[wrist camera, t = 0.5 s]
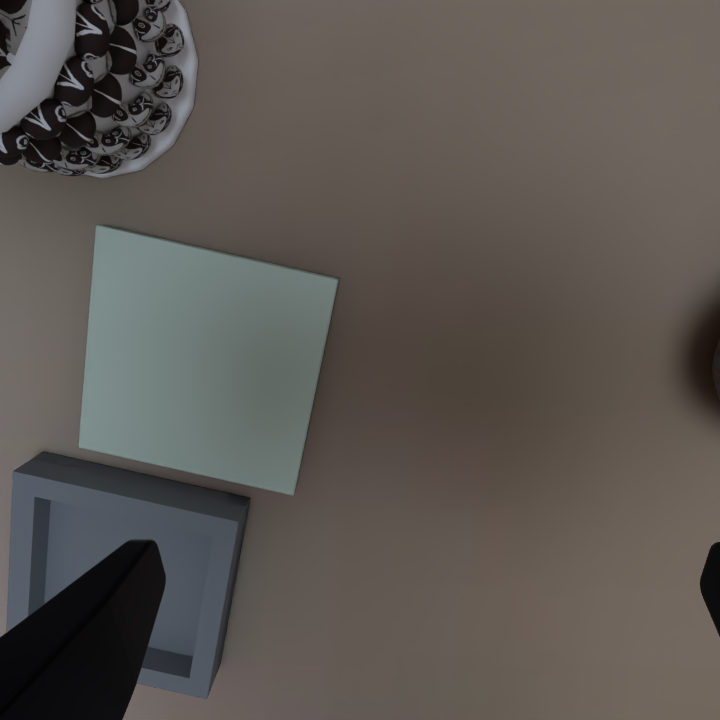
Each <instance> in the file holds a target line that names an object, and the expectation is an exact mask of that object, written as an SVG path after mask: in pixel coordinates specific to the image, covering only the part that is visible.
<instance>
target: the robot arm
mask: <svg viewBox="0 0 720 720" xmlns="http://www.w3.org/2000/svg"><path fill="white" fill-rule="evenodd" d="M165 585H166V574H165V570H164V566H163V563H162V559H161V555H160V552H159V548H158V545H157V543H156V542H155V541H154V540H152V539H131V540H128V541H127V542H125V543H124V544H122V545H121V546H120V547H119V548H117V549H116V550H115V551H113V552H112V553H111V554H109V555H108V556H107V557H105V558H104V559H103V560H101V561H100V562H99V563H97V564H96V565H95V566H94V567H92V568H91V569H90V570H88V571H87V572H86V573H84V574H83V575H82V576H80V577H79V578H78V579H76V580H75V581H74V582H72V583H71V584H70V585H68V586H67V587H66V588H65V589H63V590H62V591H61V592H59V593H58V594H57V595H55V596H54V597H53V598H51V599H50V600H49V601H47V602H46V603H45V604H43V605H42V606H41V607H40V608H38V609H37V610H36V611H34V612H33V613H32V614H30V615H29V616H28V617H26V618H25V619H24V620H22V621H21V622H20V623H18V624H17V625H16V626H15V627H13V628H12V629H11V630H9V631H8V632H7V633H5V634H4V635H3V636H1V637H0V720H122V719H123V717H124V714H125V712H126V709H127V707H128V704H129V702H130V699H131V697H132V694H133V691H134V689H135V686H136V683H137V681H138V677H139V674H140V671H141V668H142V665H143V661H144V658H145V655H146V651H147V648H148V644H149V641H150V638H151V634H152V631H153V627H154V624H155V621H156V617H157V614H158V610H159V607H160V604H161V600H162V597H163V593H164V590H165ZM700 589H701V593H702V596H703V599H704V601H705V603H706V606H707V608H708V610H709V613H710V615H711V617H712V620H713V622H714V624H715V627H716V629H717V632H718V634H719V636H720V542H717V543H714V544H713V545H712V546H711V548H710V550H709V554H708V557H707V560H706V563H705V566H704V569H703V572H702V575H701V579H700Z"/></svg>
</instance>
